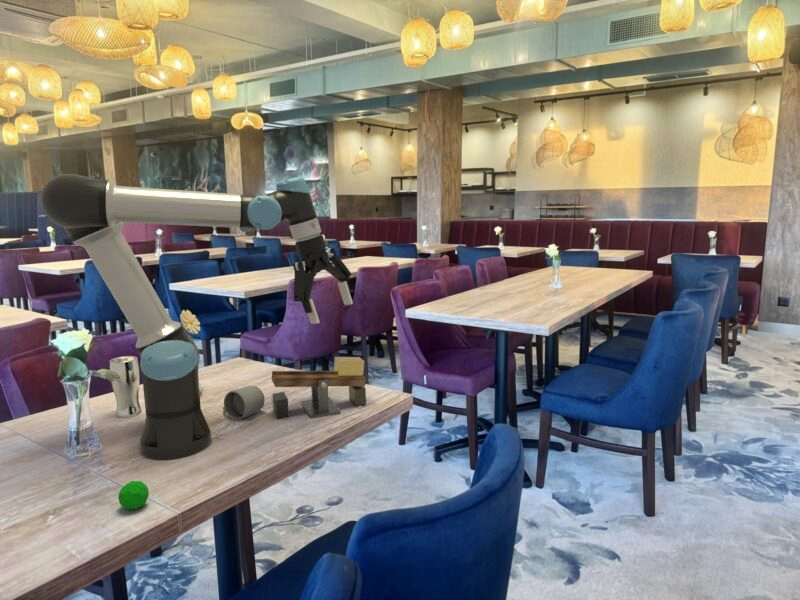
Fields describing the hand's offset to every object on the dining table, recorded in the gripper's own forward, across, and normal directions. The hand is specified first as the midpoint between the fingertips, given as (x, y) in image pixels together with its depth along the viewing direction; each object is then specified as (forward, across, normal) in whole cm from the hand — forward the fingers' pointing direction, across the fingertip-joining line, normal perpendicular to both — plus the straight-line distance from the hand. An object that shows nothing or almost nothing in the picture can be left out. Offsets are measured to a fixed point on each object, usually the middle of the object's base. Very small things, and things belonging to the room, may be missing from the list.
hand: (332, 313), depth 150 cm
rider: (+18, -2, -1) cm, 18 cm away
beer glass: (+10, -41, +44) cm, 61 cm away
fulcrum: (+23, -10, +5) cm, 26 cm away
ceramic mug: (+18, -25, +19) cm, 36 cm away
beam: (+16, -9, +4) cm, 18 cm away
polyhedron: (+12, -65, -4) cm, 66 cm away
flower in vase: (+14, -24, +45) cm, 53 cm away
